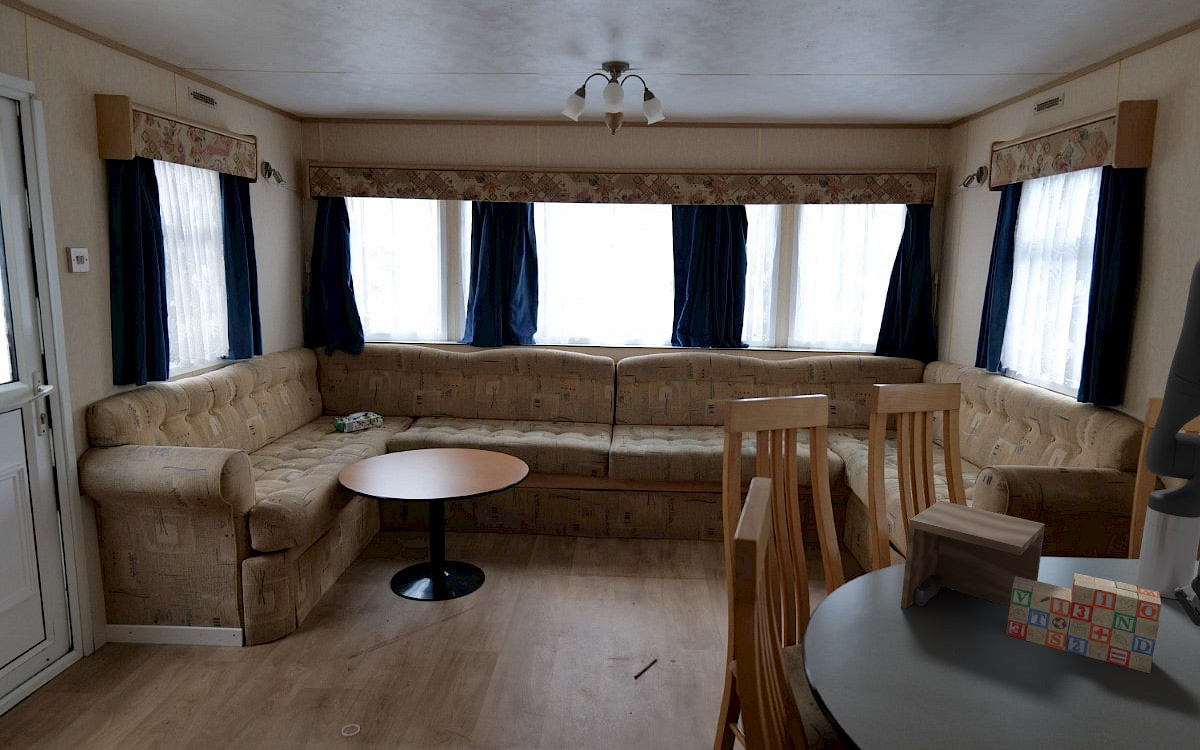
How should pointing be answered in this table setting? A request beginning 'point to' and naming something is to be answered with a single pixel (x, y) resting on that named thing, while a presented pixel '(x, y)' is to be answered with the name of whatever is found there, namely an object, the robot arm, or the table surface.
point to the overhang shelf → (971, 551)
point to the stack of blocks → (1088, 618)
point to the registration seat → (927, 590)
